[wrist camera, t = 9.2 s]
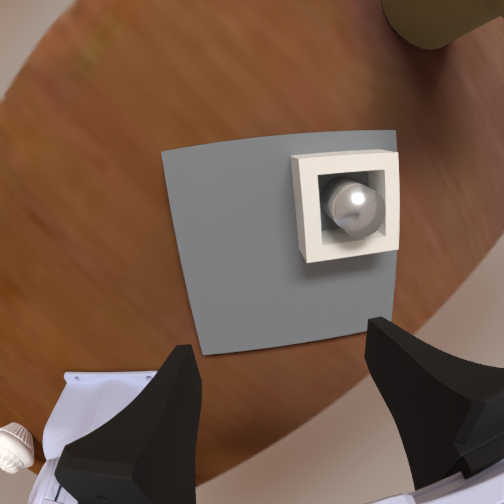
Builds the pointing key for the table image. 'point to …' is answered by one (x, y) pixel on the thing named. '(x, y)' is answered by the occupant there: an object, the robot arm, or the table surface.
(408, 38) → the cork
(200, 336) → the board
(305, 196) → the collar
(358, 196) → the post
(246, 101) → the table surface
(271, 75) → the table surface
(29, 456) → the white rounded jar shape
